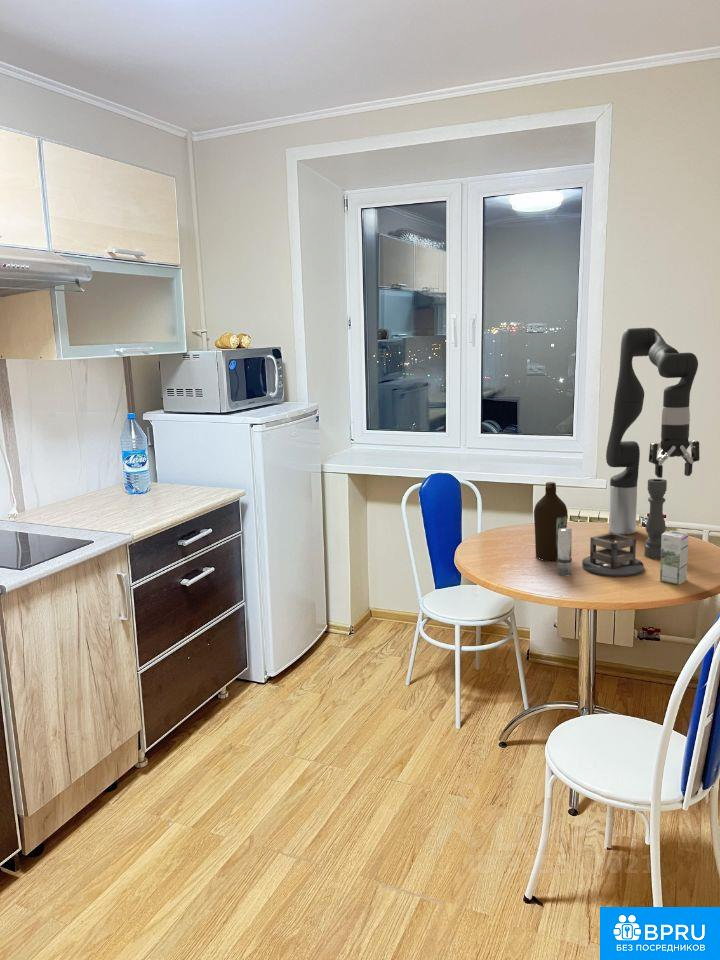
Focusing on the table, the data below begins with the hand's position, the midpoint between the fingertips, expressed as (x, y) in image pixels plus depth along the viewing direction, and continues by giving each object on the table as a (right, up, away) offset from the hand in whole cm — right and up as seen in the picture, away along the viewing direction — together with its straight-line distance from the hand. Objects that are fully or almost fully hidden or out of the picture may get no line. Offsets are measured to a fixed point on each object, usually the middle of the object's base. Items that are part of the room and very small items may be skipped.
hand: (673, 476), depth 212 cm
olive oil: (-30, -27, +24) cm, 47 cm away
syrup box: (-1, -31, -3) cm, 31 cm away
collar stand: (-14, -28, +11) cm, 34 cm away
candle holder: (+3, -26, +20) cm, 33 cm away
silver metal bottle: (-30, -30, +7) cm, 43 cm away
